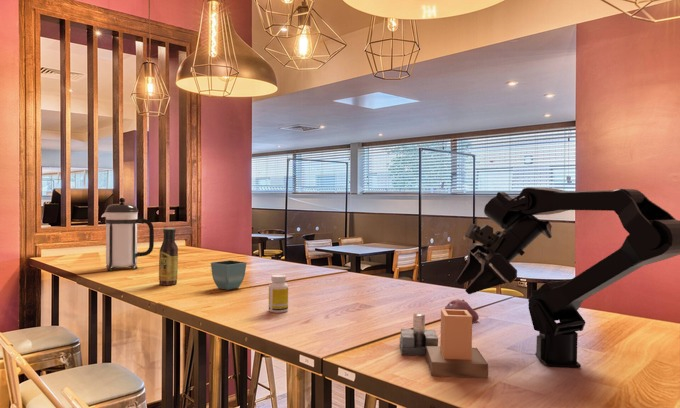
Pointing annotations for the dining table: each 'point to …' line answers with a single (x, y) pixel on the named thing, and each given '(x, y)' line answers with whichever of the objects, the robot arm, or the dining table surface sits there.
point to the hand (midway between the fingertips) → (461, 287)
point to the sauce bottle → (168, 258)
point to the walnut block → (456, 364)
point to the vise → (417, 337)
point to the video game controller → (462, 307)
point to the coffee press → (124, 235)
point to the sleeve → (456, 334)
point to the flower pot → (228, 273)
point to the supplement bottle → (278, 294)
